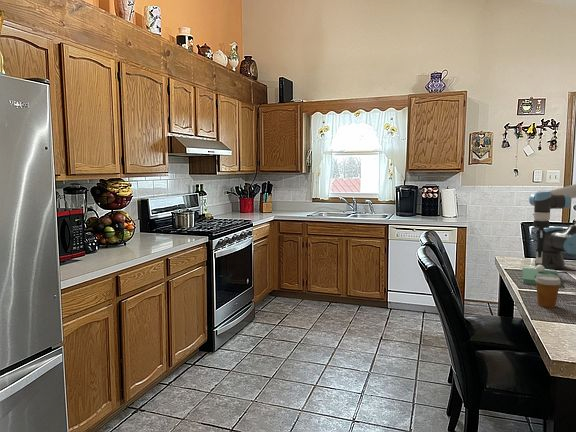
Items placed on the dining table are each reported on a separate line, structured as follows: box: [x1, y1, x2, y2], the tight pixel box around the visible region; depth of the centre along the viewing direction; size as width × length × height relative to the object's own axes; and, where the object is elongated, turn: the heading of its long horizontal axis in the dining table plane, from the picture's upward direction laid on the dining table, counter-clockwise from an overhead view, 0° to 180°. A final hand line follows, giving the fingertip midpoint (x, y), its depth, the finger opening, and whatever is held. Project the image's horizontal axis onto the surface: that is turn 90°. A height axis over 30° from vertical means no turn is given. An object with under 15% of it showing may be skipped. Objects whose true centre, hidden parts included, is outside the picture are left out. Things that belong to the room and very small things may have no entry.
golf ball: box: [535, 265, 546, 272], centre depth 231 cm, size 4×4×4 cm
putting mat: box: [521, 267, 562, 288], centre depth 226 cm, size 26×16×2 cm, turn 153°
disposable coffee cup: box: [535, 275, 562, 308], centre depth 184 cm, size 10×10×12 cm
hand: (539, 262), depth 237 cm, fingers closed
